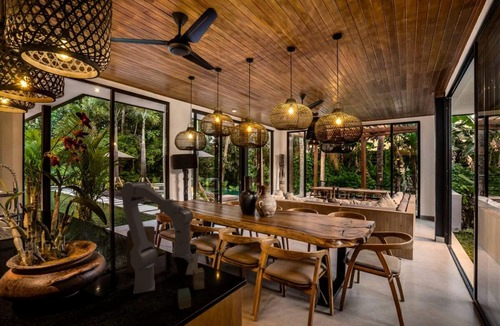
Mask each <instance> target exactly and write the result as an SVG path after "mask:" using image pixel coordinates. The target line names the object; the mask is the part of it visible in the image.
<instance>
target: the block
mask: <svg viewBox="0 0 500 326" xmlns="http://www.w3.org/2000/svg"><path fill="white" fill-rule="evenodd" d="M143 226H144V229H145V233H146V236H147V240H148V241H149V242H151V243H153V245H154V248H155V249H156V245H155V244H156V243H155V242H156V241H155V240H156V236H155V235H156V234H155V233H156V227H155V226H154V225H153V226H152V225H143ZM133 247H134V244H133V240H132V237H131V233H130V229H128V230H127V232H126V273H127V274H128V273H129V274H135V269H134V268H133V267H132V265H131V255H130V252H131V250H132V248H133ZM143 250H145V249H143ZM143 250H142V251H143Z"/></svg>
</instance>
